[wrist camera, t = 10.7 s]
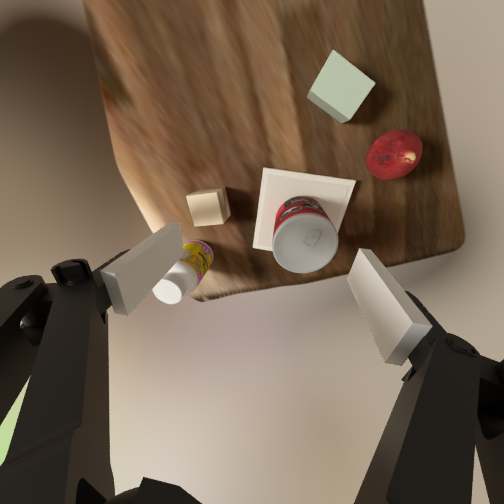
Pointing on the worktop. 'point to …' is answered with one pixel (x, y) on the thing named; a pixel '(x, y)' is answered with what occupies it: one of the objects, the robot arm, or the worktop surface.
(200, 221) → the beech block
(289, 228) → the canned food
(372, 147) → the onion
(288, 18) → the worktop surface
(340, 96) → the sage block
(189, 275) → the supplement bottle
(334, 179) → the tray
